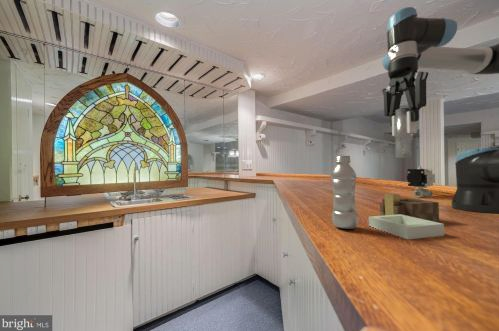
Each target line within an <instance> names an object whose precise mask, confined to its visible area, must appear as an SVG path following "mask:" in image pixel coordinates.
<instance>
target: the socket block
mask: <svg viewBox="0 0 499 331" xmlns="http://www.w3.org/2000/svg"><path fill="white" fill-rule="evenodd" d="M399 198H400V206H393V208H394V215H398V214H401V215H406V216H410V217H415V218H419V219H424V220H429V221H433V222H438V223H440V210H439V208H440V206H439V202H438V201H432V200H425V199H419V198H417V199H416V198H408V197H399ZM381 202H382V203H379V210H380V211H379V216H384V215H385V198H382V199H381Z"/></svg>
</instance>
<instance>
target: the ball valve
mask: <svg viewBox="0 0 499 331" xmlns="http://www.w3.org/2000/svg"><path fill="white" fill-rule="evenodd" d="M406 180H407V187H413V188H414V189H415V190H414V191H413V195H414V197H415V198H417V197H429V198H432V197H433V196H434V194H433V191H432V190H429V189H427V188H428V187H432V186H433V185H434V183H436V181H435V180H436V178H435V173H433V168H422V166H421V165H418V168H407V175H406ZM425 188H426V189H425Z"/></svg>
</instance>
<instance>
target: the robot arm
mask: <svg viewBox="0 0 499 331" xmlns="http://www.w3.org/2000/svg"><path fill="white" fill-rule="evenodd" d="M386 27H387V28H386V35H387V36H386V37H387V39H386V40H387V42H386V43H387V53H386V54H385V55H384V56H383V58H382V66H383V69H384V70H385V71H387V76H388V78H389V84H388V86H387V87H385V88H382V90H381V92H382V95H383V110H384V111H383V114H384V117H389V121H390V122H389V124H390V127H391V133H392V134H391V136H392V137H395V110H398V109H401V104H402V103H401V102H402V97H403V95H404V94H405V97H406V102H407V106H408V108H409V109H408V110H411V111H408V112H407V133H413V134H417V133H418V122H419V120H420V109H421V108H424V107H426V106H427V80H428V76H429V71H420V70H419V71H418V69H420V68H421V69H433V70H446V71H447V70H449V71H463V72H464V73H466V74H468V75H469V74H470V75H495V74H497V75H498V74H499V43H497V44H494V45H490V46H486V45H485V46H480V47H477V48H467V47H464V48H463V47H449V46H445V45H447V44H449V43H450V42H451V41H452V39H454V37H455V35H456V34H457V31H458V22H457V21H456V20H455V19H451V18H445V17H441V18H438V17H436V18H434V17H433V18H431V17H430V18H429V17H427V18H426V17H418V13H417V9H416V8H414V7H413V6H408V7H404V8H401V9H399V10H396V12H394V13H393V14H392V15H391V16H390V17H389V18H388V20H387V26H386ZM454 164H455V178H456V190H455V192H454V195H453V198H452V200H451V208H454V209H457V210H462V211H468V212H476V213H489V214H490V213H491V214H499V147H498V146H497V147H495V146H493V147H482V148H474V149H473V148H472V149H470V150H469V149H467V150H464V151H463V150H462V151H461V152H458V153H457V154H456V156H455V163H454Z"/></svg>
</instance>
